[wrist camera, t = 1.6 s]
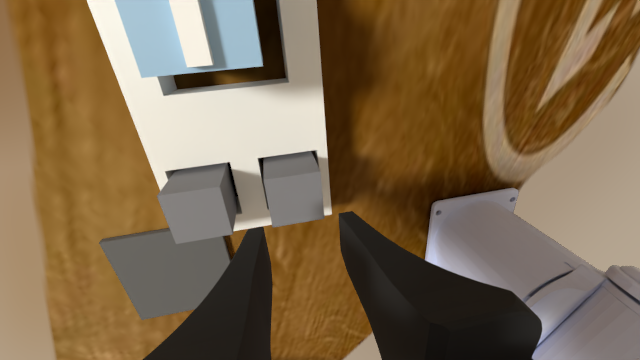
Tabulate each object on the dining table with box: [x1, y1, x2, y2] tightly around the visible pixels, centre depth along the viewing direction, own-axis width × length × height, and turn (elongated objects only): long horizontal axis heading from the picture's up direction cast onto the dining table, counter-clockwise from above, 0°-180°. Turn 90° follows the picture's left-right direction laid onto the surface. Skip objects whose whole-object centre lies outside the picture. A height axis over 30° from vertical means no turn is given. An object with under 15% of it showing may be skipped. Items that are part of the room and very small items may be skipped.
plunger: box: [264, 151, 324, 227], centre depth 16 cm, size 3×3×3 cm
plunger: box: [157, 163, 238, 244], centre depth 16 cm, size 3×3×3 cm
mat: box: [99, 228, 231, 320], centre depth 21 cm, size 8×8×1 cm
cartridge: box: [115, 0, 263, 78], centre depth 12 cm, size 4×4×8 cm
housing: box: [87, 0, 332, 231], centre depth 16 cm, size 16×10×2 cm, turn 5°
